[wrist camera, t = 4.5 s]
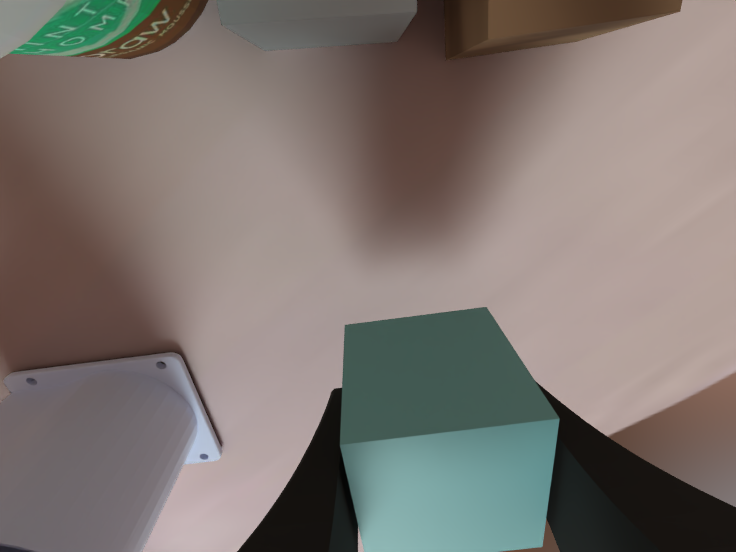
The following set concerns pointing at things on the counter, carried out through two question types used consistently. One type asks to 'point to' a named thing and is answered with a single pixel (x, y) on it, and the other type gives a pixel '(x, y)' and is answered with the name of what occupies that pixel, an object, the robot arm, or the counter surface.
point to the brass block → (539, 22)
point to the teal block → (444, 436)
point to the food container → (94, 26)
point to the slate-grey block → (316, 21)
